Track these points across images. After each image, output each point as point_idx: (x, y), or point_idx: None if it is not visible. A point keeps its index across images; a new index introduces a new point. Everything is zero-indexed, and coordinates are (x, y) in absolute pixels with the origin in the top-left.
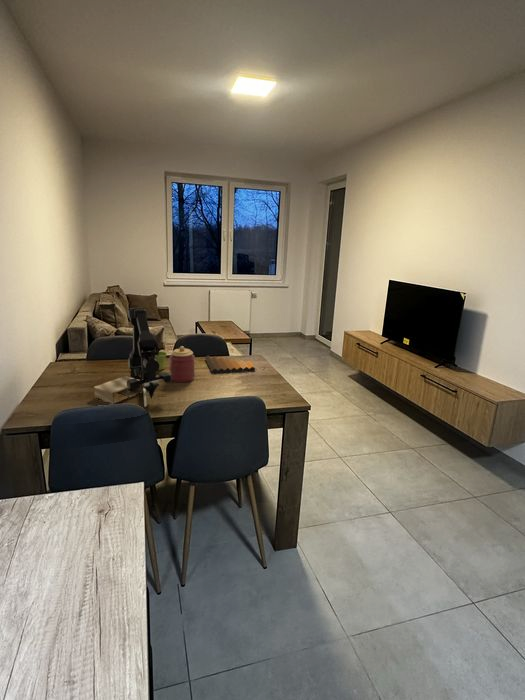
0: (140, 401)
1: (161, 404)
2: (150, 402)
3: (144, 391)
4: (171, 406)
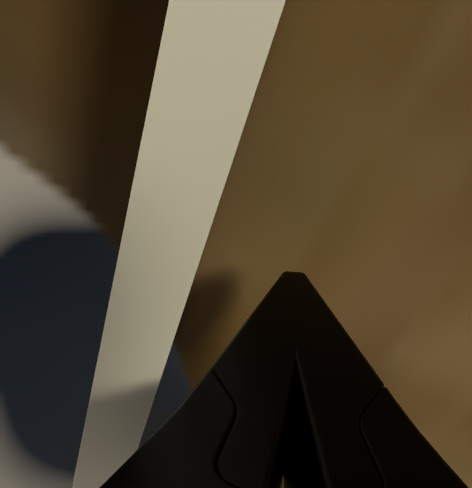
0: (123, 103)
1: (388, 379)
2: (279, 243)
3: (136, 320)
4: (454, 469)
